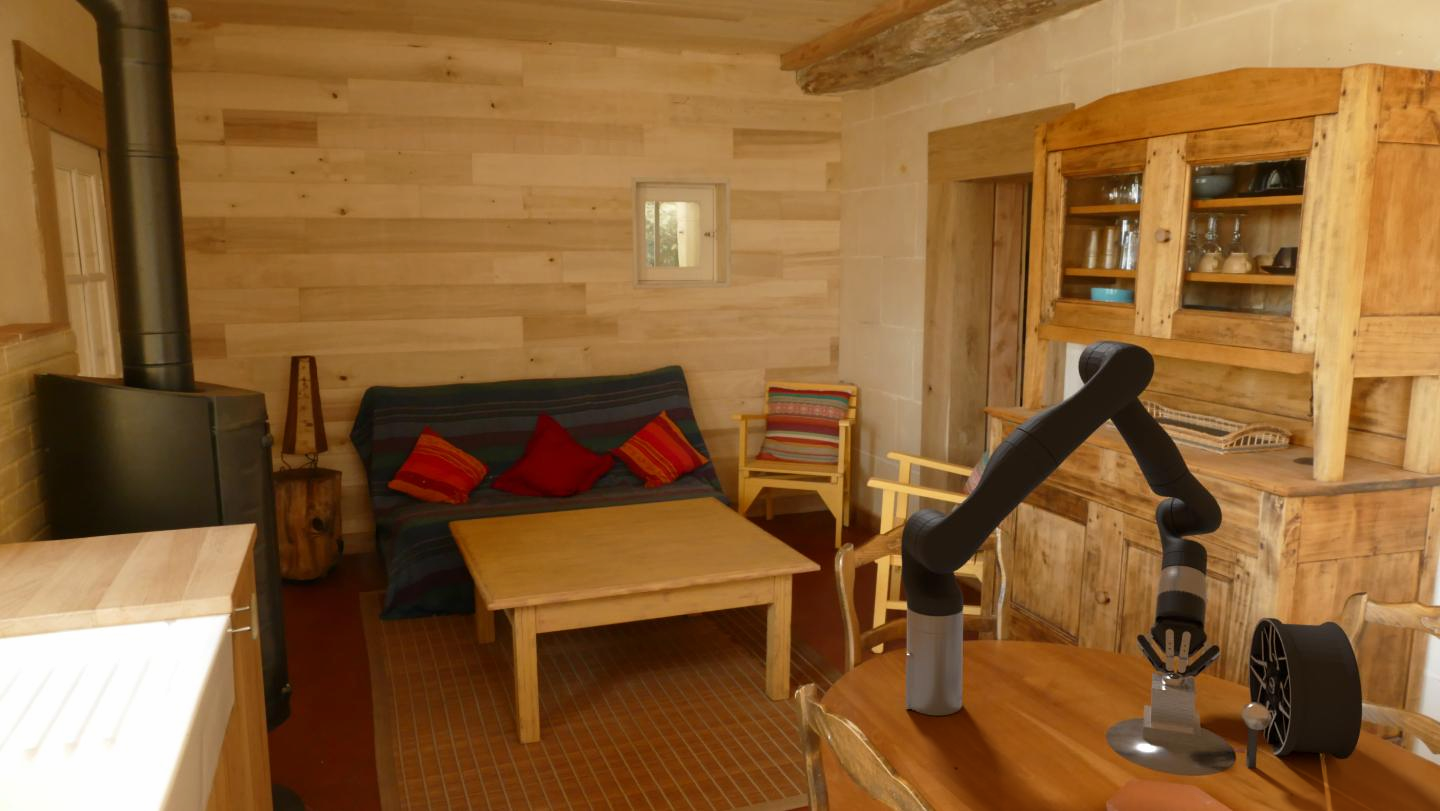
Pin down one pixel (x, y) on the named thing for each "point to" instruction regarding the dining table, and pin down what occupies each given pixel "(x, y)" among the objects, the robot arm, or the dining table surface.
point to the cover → (1172, 711)
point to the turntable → (1171, 751)
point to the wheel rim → (1306, 687)
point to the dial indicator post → (1254, 728)
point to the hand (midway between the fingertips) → (1173, 696)
